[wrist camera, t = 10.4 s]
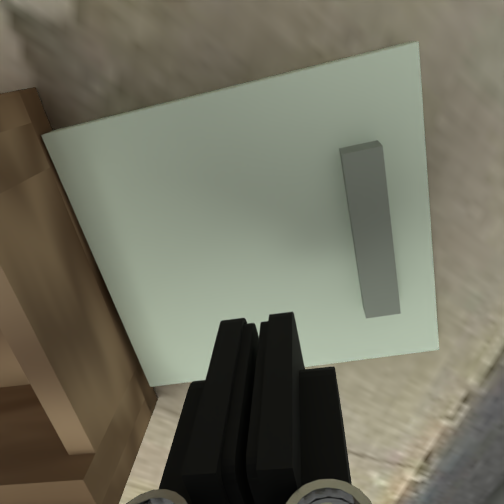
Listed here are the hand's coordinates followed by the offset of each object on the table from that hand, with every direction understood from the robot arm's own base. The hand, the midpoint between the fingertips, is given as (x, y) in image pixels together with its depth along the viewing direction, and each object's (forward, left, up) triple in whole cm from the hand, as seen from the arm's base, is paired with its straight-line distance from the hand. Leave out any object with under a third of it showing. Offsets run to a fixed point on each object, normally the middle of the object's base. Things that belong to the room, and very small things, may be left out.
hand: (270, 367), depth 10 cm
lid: (0, -1, -8) cm, 8 cm away
